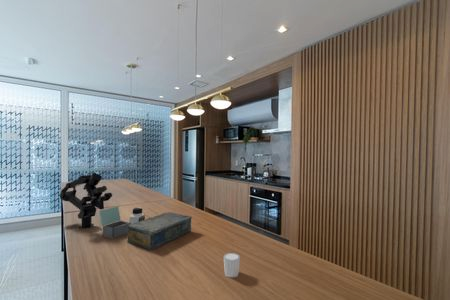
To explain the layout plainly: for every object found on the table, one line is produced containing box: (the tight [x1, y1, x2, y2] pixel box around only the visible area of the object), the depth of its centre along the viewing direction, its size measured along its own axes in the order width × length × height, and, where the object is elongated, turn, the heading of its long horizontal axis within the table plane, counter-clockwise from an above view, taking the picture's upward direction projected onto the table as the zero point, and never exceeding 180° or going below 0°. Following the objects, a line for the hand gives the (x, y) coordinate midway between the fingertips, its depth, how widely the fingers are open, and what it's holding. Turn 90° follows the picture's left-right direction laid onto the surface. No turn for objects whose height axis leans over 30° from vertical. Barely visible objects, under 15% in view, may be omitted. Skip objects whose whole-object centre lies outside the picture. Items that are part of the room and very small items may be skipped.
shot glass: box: [223, 252, 241, 278], centre depth 89 cm, size 7×7×7 cm
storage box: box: [102, 220, 131, 240], centre depth 131 cm, size 9×12×6 cm
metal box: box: [126, 211, 193, 251], centre depth 128 cm, size 21×32×10 cm, turn 149°
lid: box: [98, 206, 122, 227], centre depth 134 cm, size 9×12×1 cm
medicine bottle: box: [129, 207, 146, 224], centre depth 147 cm, size 7×7×12 cm
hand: (102, 209), depth 138 cm, fingers closed
